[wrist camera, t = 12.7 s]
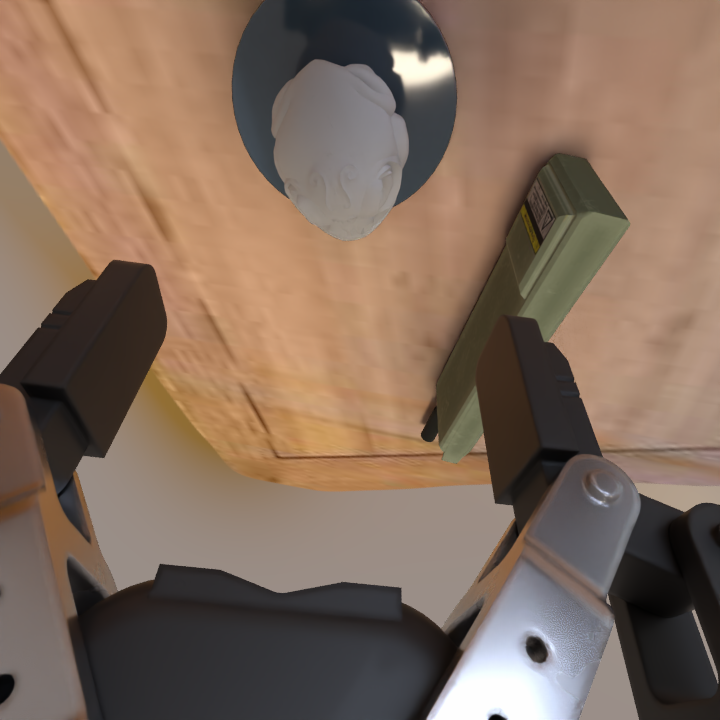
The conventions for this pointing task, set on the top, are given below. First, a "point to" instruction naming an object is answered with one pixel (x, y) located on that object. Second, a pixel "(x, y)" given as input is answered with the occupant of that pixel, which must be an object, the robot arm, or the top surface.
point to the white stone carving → (339, 147)
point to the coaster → (344, 47)
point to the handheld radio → (529, 284)
